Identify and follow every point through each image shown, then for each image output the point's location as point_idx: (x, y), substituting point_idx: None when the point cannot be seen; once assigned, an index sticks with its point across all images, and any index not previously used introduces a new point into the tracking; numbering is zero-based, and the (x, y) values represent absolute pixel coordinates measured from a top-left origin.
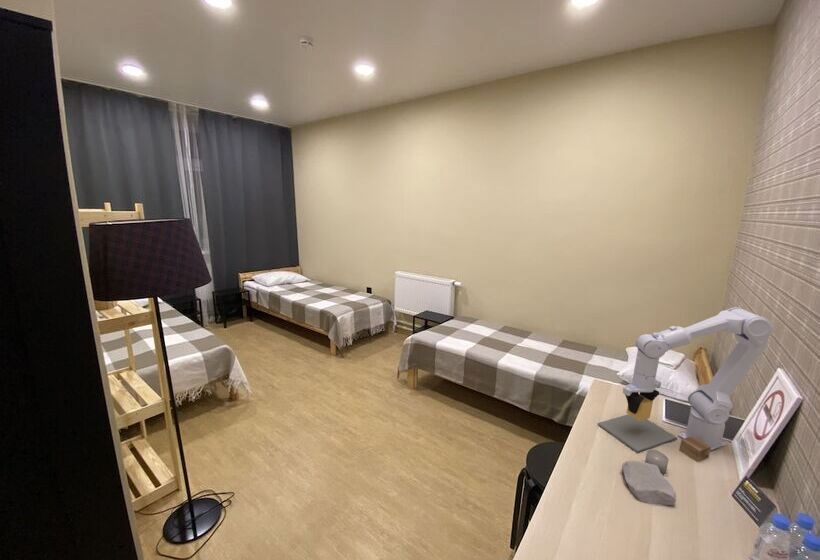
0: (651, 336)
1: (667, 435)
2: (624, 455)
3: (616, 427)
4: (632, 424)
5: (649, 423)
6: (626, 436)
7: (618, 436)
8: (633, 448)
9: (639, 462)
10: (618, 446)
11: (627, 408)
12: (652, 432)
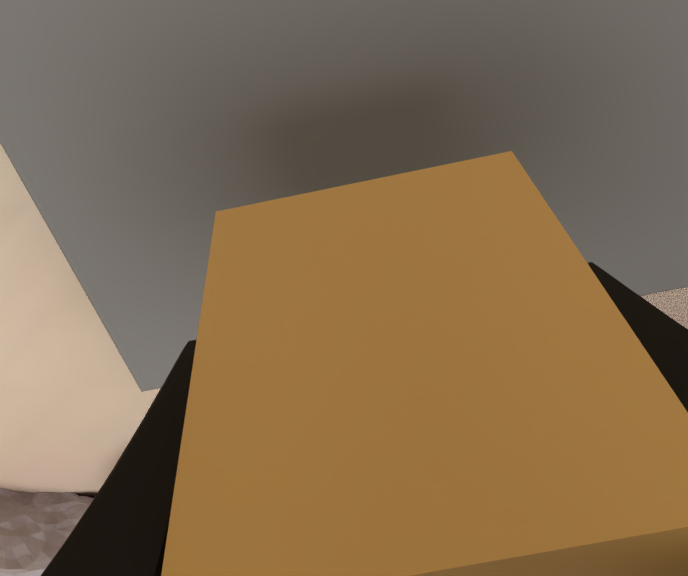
0: None
1: (655, 248)
2: (6, 382)
3: (137, 42)
4: (443, 10)
5: None
6: (164, 221)
7: (58, 210)
8: (125, 362)
9: None
10: (5, 292)
11: (210, 281)
12: (546, 193)
